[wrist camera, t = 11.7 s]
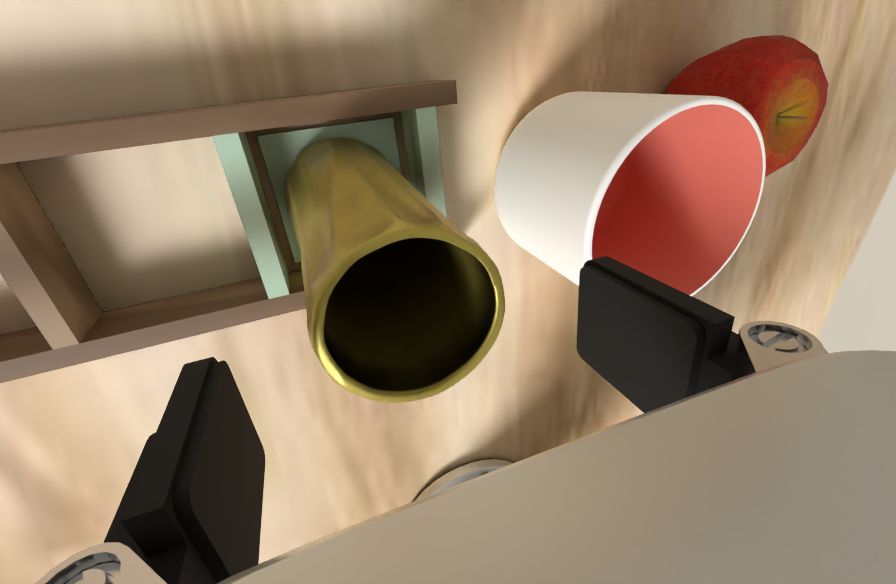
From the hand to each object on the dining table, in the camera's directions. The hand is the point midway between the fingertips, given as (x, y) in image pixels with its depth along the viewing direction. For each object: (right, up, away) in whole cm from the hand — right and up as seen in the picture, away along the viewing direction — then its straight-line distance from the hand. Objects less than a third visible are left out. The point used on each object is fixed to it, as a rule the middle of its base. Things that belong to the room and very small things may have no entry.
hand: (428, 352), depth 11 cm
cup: (+7, +9, +16) cm, 20 cm away
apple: (+16, +14, +18) cm, 28 cm away
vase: (-5, +7, +12) cm, 15 cm away
